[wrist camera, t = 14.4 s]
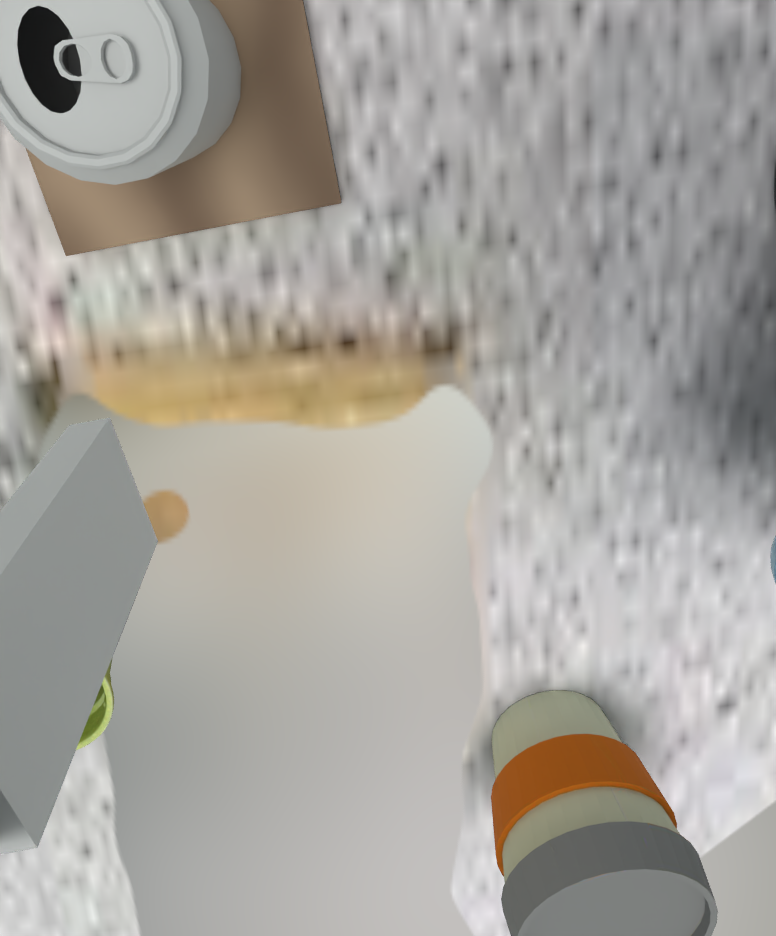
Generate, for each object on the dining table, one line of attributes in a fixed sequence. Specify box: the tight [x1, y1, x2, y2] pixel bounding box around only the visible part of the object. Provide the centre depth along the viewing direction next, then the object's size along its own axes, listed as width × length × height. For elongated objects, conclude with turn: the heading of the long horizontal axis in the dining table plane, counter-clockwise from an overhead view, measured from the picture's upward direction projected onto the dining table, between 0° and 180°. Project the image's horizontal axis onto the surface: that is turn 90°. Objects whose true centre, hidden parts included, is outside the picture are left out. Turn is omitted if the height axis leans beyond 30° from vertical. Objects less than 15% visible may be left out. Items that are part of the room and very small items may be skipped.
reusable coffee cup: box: [491, 690, 718, 936], centre depth 49 cm, size 13×12×15 cm
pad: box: [26, 0, 341, 256], centre depth 33 cm, size 14×14×1 cm
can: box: [0, 0, 241, 185], centre depth 27 cm, size 8×8×12 cm
